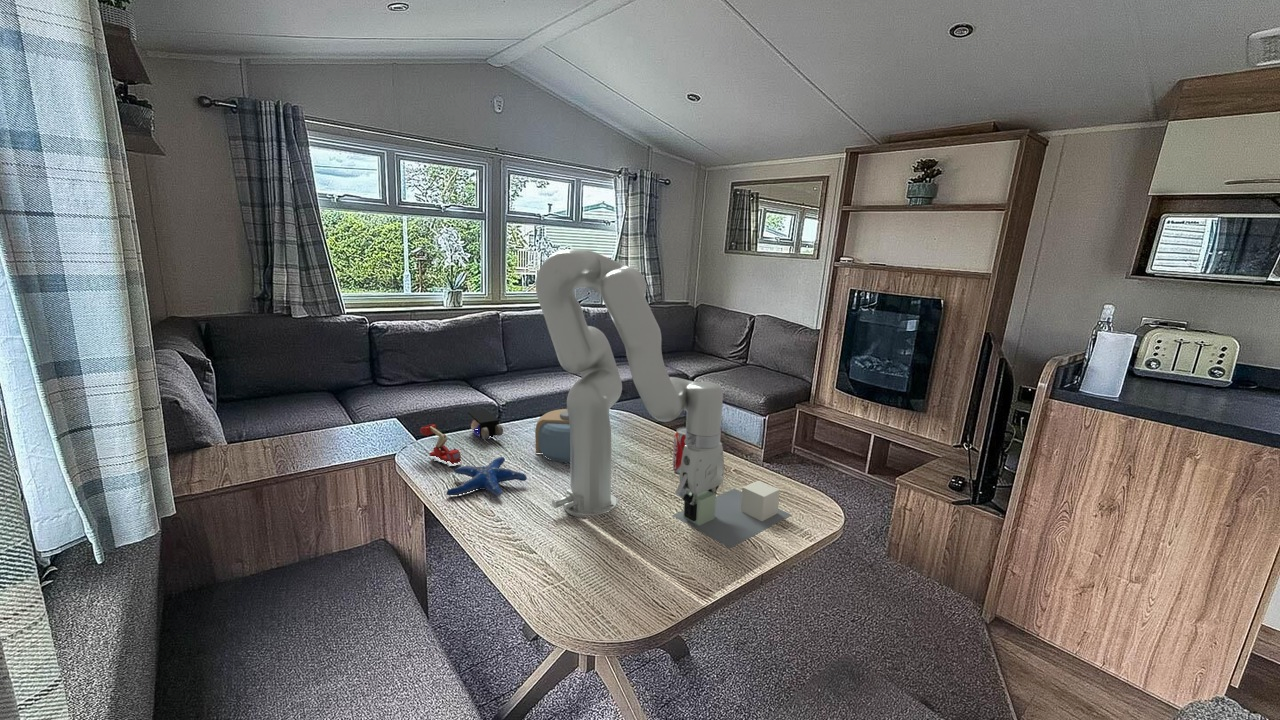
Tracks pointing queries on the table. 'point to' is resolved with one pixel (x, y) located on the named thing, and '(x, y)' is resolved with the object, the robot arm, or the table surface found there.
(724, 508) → the board
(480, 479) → the starfish
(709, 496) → the sage block
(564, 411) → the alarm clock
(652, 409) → the robot arm
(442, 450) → the toy fire truck
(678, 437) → the soda can
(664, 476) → the table surface
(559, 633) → the table surface
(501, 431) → the black toy truck
